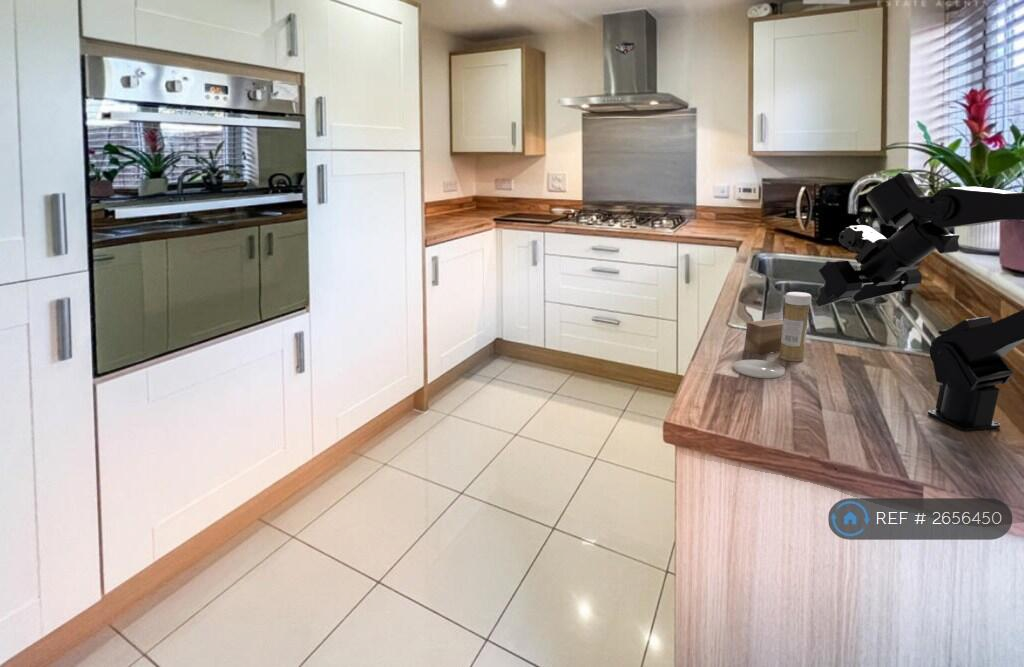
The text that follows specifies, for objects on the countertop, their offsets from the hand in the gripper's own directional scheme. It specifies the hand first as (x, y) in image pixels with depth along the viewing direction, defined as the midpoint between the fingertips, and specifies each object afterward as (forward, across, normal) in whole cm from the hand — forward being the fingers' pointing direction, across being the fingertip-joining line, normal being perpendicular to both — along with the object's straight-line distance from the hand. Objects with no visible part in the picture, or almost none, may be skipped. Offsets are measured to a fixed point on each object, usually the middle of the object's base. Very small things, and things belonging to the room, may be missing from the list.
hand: (836, 302), depth 106 cm
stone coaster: (+14, +11, +5) cm, 18 cm away
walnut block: (+20, 0, -1) cm, 20 cm away
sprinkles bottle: (+16, 0, +4) cm, 16 cm away
